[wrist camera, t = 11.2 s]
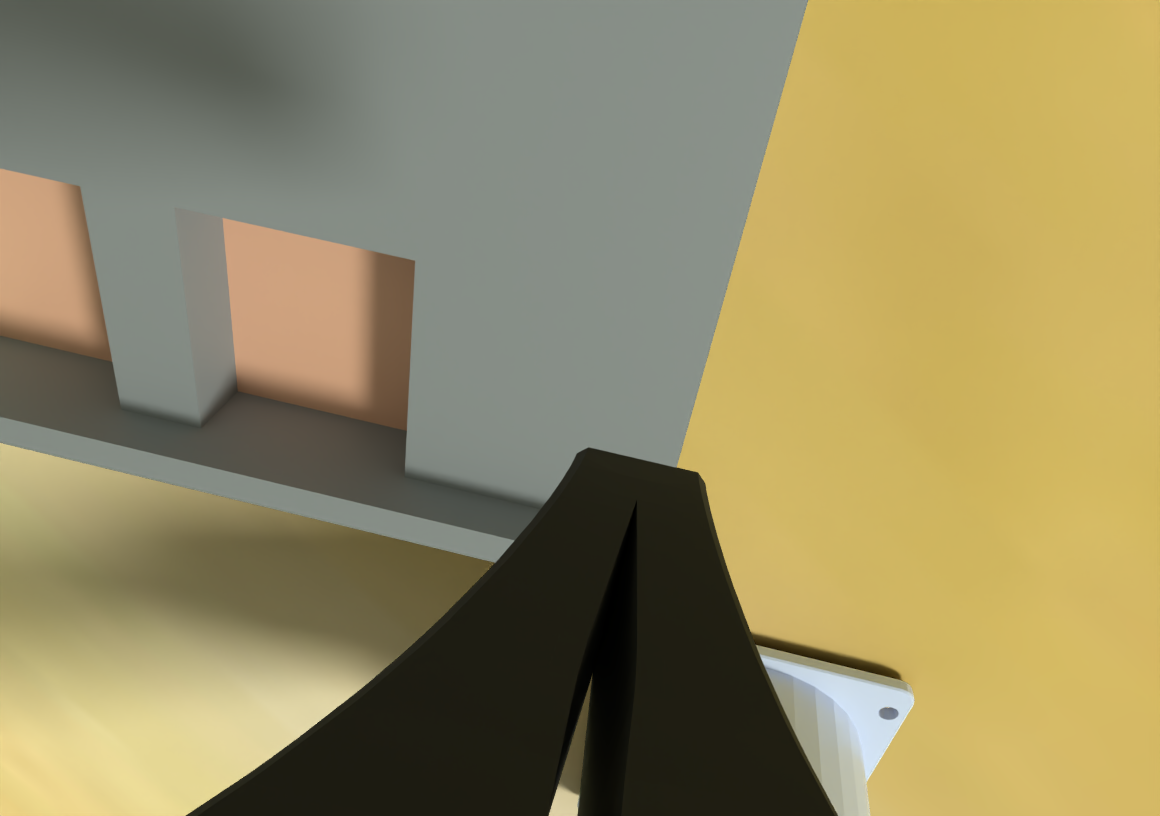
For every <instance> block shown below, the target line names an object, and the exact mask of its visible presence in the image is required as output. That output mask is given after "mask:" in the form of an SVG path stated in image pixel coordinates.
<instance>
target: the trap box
mask: <svg viewBox="0 0 1160 816" xmlns="http://www.w3.org/2000/svg"><path fill="white" fill-rule="evenodd" d="M807 2H808V0H0V443H3V444H7V445H11V446H16V447H20V448H24V449H28V450H32V451H36V452H40V453H44V454H49V455H53V456H57V457H61V458H65V459H69V460H73V461H77V462H82V463H86V464H90V465H94V466H98V467H102V468H106V469H111V470H115V471H119V472H123V473H127V474H131V475H135V476H139V477H144V478H148V479H152V480H156V481H160V482H164V483H168V484H172V485H177V486H181V487H185V488H189V489H193V490H197V491H201V492H205V493H210V494H214V495H218V496H222V497H226V498H230V499H234V500H238V501H243V502H247V503H251V504H255V505H259V506H263V507H267V508H272V509H276V510H280V511H284V512H288V513H292V514H296V515H300V516H305V517H309V518H313V519H317V520H321V521H325V522H329V523H333V524H338V525H342V526H346V527H350V528H354V529H358V530H362V531H366V532H371V533H375V534H379V535H383V536H387V537H391V538H395V539H400V540H404V541H408V542H412V543H416V544H420V545H424V546H428V547H433V548H437V549H441V550H445V551H449V552H453V553H457V554H461V555H466V556H470V557H474V558H478V559H482V560H486V561H490V562H494V563H496V562H497V560H498V559H499V558H500V557H501V556H502V555H503V553H504V552H505V551H506V550H507V549H508V548H509V546H510V545H511V544H512V543H513V542H514V541H515V539H516V538H517V537H518V536H519V535H520V534H521V532H522V531H523V530H524V529H525V528H526V527H527V526H528V524H529V523H530V522H531V521H532V520H533V518H534V517H535V516H536V514H537V513H538V512H539V511H540V509H541V508H542V507H543V505H544V504H545V503H546V501H547V500H548V499H549V498H550V496H551V495H552V493H553V492H554V491H555V489H556V488H557V486H558V485H559V483H560V482H561V480H562V479H563V477H564V476H565V474H566V472H567V471H568V469H569V468H570V466H571V464H572V462H573V460H574V458H575V456H576V454H577V453H578V452H580V451H582V450H584V449H586V448H588V447H590V448H594V449H599V450H603V451H607V452H611V453H616V454H620V455H624V456H629V457H633V458H637V459H642V460H646V461H650V462H655V463H659V464H663V465H667V466H672V467H677V464H678V460H679V457H680V453H681V449H682V446H683V442H684V439H685V435H686V432H687V428H688V425H689V421H690V418H691V414H692V410H693V407H694V403H695V400H696V396H697V393H698V389H699V386H700V382H701V378H702V375H703V371H704V368H705V364H706V361H707V357H708V354H709V350H710V346H711V343H712V339H713V336H714V332H715V329H716V325H717V322H718V318H719V315H720V311H721V307H722V304H723V300H724V297H725V293H726V290H727V286H728V283H729V279H730V275H731V272H732V268H733V265H734V261H735V258H736V254H737V251H738V247H739V244H740V240H741V236H742V233H743V229H744V226H745V222H746V219H747V215H748V212H749V208H750V204H751V201H752V197H753V194H754V190H755V187H756V183H757V180H758V176H759V173H760V169H761V165H762V162H763V158H764V155H765V151H766V148H767V144H768V141H769V137H770V133H771V130H772V126H773V123H774V119H775V116H776V112H777V109H778V105H779V102H780V98H781V94H782V91H783V87H784V84H785V80H786V77H787V73H788V70H789V66H790V62H791V59H792V55H793V52H794V48H795V45H796V41H797V38H798V34H799V30H800V27H801V23H802V20H803V16H804V13H805V9H806V6H807Z"/></svg>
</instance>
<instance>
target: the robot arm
mask: <svg viewBox="0 0 1160 816" xmlns="http://www.w3.org/2000/svg"><path fill="white" fill-rule="evenodd" d="M592 674H593V676H592ZM591 677H592V685H591V694H590V703H589V712H588V722H587V731H586V740H585V750H584V759H583V769H582V778H581V788H580V795H579V799H578V816H870V808H869V800H868V792H867V784H866V782H867V780H868V779H869V777H870V775H871V774H872V772H873V770H874V769H875V767H876V766H877V764H878V762H879V761H880V759H881V757H882V756H883V754H884V752H885V751H886V749H887V747H888V746H889V744H890V743H891V741H892V739H893V738H894V736H895V734H896V733H897V731H898V729H899V728H900V726H901V724H902V723H903V721H904V719H905V718H906V716H907V715H908V713H909V711H910V710H911V708H912V706H913V704H914V695H913V691H912V688H911V686H910V685H909V684H908V683H906V682H904V681H901V680H898V679H894V678H890V677H886V676H882V675H878V674H874V673H869V672H865V671H861V670H857V669H853V668H849V667H845V666H841V665H837V664H832V663H828V662H824V661H820V660H816V659H812V658H808V657H804V656H800V655H796V654H791V653H787V652H783V651H779V650H775V649H771V648H767V647H763V646H759V645H755V642H754V640H753V637H752V635H751V632H750V629H749V627H748V624H747V621H746V619H745V616H744V613H743V611H742V608H741V605H740V603H739V600H738V597H737V595H736V592H735V589H734V587H733V584H732V581H731V578H730V575H729V572H728V569H727V566H726V563H725V560H724V556H723V553H722V550H721V547H720V543H719V540H718V537H717V533H716V530H715V526H714V522H713V518H712V514H711V511H710V506H709V502H708V497H707V492H706V486H705V483H704V481H703V480H702V478H701V476H700V475H699V473H698V472H693V471H689V470H685V469H680V468H676V467H672V466H667V465H663V464H659V463H655V462H650V461H646V460H642V459H637V458H633V457H629V456H624V455H620V454H616V453H611V452H607V451H603V450H599V449H594V448H590V447H588V448H586V449H584V450H582V451H580V452H578V453H577V454H576V456H575V458H574V460H573V462H572V464H571V466H570V468H569V469H568V471H567V472H566V474H565V476H564V477H563V479H562V480H561V482H560V483H559V485H558V486H557V488H556V489H555V491H554V492H553V493H552V495H551V496H550V498H549V499H548V500H547V501H546V503H545V504H544V505H543V507H542V508H541V509H540V511H539V512H538V513H537V514H536V516H535V517H534V518H533V520H532V521H531V522H530V523H529V524H528V526H527V527H526V528H525V529H524V530H523V531H522V532H521V534H520V535H519V536H518V537H517V538H516V539H515V541H514V542H513V543H512V544H511V545H510V546H509V548H508V549H507V550H506V551H505V552H504V553H503V555H502V556H501V557H500V558H499V559H498V560H497V562H496V563H495V564H494V565H493V566H492V567H491V568H490V569H489V570H488V571H487V572H486V573H485V574H484V575H483V576H482V577H481V578H480V579H479V580H478V581H477V582H476V583H475V584H474V585H473V587H472V588H471V589H470V590H469V591H468V592H467V593H466V594H465V595H464V596H463V597H462V598H461V599H460V600H459V601H458V602H457V603H456V604H455V605H454V606H453V607H452V608H451V609H450V610H449V611H448V612H447V613H446V614H445V615H444V616H443V617H442V618H441V619H440V620H439V621H438V622H437V623H436V624H434V625H433V626H432V627H431V628H430V629H429V630H428V631H427V632H426V633H425V634H424V635H423V636H422V637H420V638H419V639H418V640H417V641H416V642H415V643H414V644H413V645H412V646H411V647H409V648H408V649H407V650H406V651H405V652H404V653H403V654H402V655H400V656H399V657H398V658H397V659H396V660H395V661H394V662H392V663H391V664H390V665H389V666H388V667H386V668H385V669H384V670H383V671H382V672H381V673H379V674H378V675H377V676H376V677H375V678H374V679H372V680H371V681H370V682H369V683H368V684H366V685H365V686H364V687H363V688H362V689H360V690H359V691H358V692H357V693H355V694H354V695H353V696H352V697H350V698H349V699H348V700H346V701H345V702H344V703H343V704H341V705H340V706H339V707H337V708H336V709H335V710H334V711H332V712H331V713H330V714H328V715H327V716H326V717H325V718H323V719H322V720H321V721H319V722H318V723H317V724H316V725H314V726H313V727H312V728H310V729H309V730H308V731H307V732H305V733H304V734H303V735H301V736H300V737H299V738H298V739H296V740H295V741H293V742H292V743H291V744H289V745H288V746H287V747H285V748H284V749H283V750H281V751H280V752H278V753H277V754H276V755H274V756H273V757H272V758H270V759H269V760H267V761H266V762H265V763H263V764H262V765H260V766H259V767H258V768H256V769H255V770H253V771H252V772H251V773H249V774H248V775H246V776H245V777H243V778H242V779H240V780H239V781H237V782H236V783H234V784H233V785H231V786H230V787H228V788H227V789H225V790H224V791H222V792H221V793H219V794H218V795H216V796H215V797H213V798H212V799H210V800H209V801H207V802H206V803H204V804H203V805H201V806H200V807H198V808H197V809H195V810H194V811H192V812H191V813H189V814H188V815H186V816H548V815H549V812H550V809H551V806H552V802H553V799H554V796H555V793H556V790H557V786H558V783H559V780H560V777H561V774H562V770H563V767H564V764H565V761H566V757H567V754H568V751H569V748H570V745H571V741H572V738H573V735H574V732H575V728H576V725H577V722H578V719H579V716H580V712H581V709H582V706H583V703H584V699H585V696H586V693H587V690H588V687H589V683H590V680H591ZM885 707H890V708H885Z"/></svg>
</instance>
